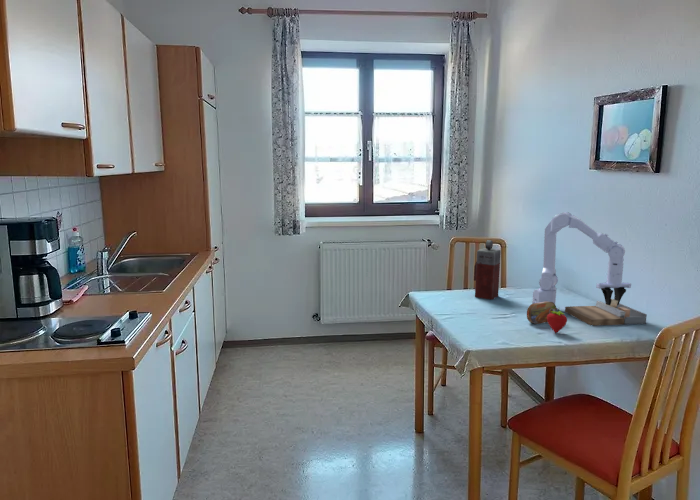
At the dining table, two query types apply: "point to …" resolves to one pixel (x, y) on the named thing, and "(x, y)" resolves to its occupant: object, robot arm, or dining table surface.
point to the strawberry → (556, 320)
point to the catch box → (634, 316)
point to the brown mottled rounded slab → (540, 312)
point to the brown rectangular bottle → (487, 272)
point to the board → (594, 315)
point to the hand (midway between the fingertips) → (612, 304)
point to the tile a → (625, 311)
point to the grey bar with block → (611, 308)
